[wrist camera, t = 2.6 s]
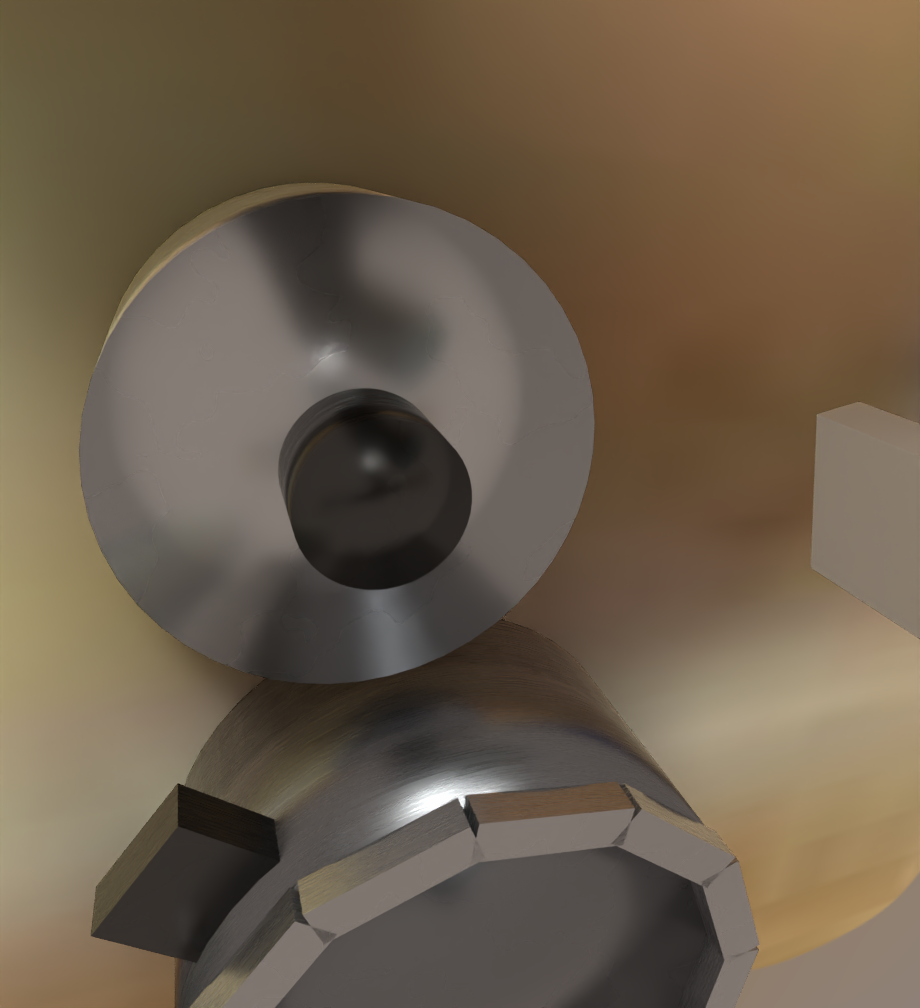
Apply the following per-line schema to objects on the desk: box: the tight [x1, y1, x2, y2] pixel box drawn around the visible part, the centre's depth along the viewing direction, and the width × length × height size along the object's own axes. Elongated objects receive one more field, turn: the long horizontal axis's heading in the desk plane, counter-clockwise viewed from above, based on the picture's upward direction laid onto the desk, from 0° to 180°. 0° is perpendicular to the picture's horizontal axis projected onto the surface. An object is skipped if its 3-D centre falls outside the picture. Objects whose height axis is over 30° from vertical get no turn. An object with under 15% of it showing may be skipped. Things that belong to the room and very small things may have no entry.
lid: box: [79, 182, 595, 684], centre depth 17 cm, size 10×10×6 cm
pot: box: [91, 620, 759, 1008], centre depth 22 cm, size 18×14×8 cm
